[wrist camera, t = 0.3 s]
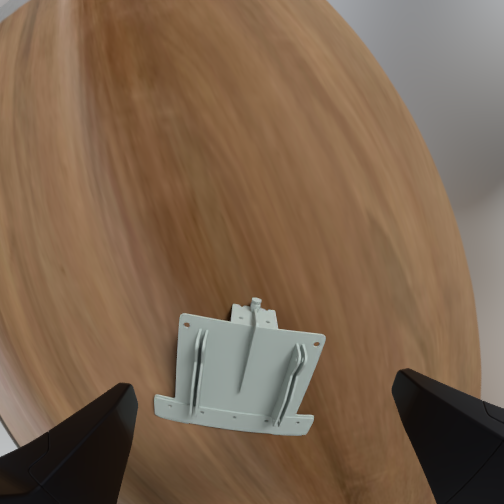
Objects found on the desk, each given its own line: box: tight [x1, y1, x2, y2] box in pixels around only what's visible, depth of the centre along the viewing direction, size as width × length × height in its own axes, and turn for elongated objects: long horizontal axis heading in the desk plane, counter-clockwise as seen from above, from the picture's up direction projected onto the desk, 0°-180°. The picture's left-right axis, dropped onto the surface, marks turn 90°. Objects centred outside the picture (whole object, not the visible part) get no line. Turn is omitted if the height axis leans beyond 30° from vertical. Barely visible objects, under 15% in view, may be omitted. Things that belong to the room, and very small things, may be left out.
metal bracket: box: [154, 298, 326, 436], centre depth 23 cm, size 14×6×15 cm
